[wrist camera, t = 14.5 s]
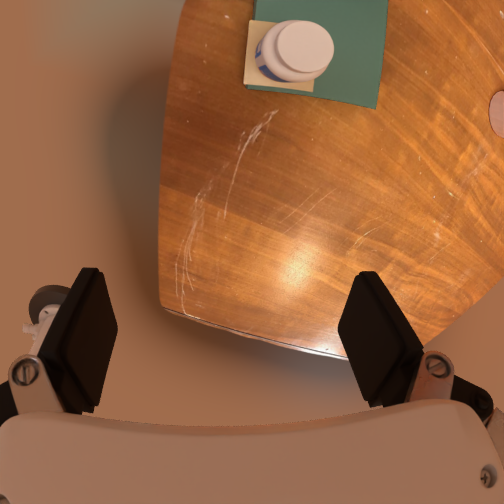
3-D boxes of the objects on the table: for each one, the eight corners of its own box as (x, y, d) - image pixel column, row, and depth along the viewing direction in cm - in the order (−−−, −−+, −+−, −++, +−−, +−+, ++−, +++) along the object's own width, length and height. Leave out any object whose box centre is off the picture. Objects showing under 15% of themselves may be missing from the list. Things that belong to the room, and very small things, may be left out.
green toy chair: (240, 87, 29) (250, 92, 18) (253, -34, 21) (270, -90, 9) (361, 105, 31) (428, 127, 19) (373, -8, 22) (442, -32, 11)
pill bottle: (315, 74, 25) (353, 75, 17) (264, 88, 26) (282, 93, 18) (298, 26, 22) (330, 7, 14) (246, 40, 23) (255, 22, 15)
